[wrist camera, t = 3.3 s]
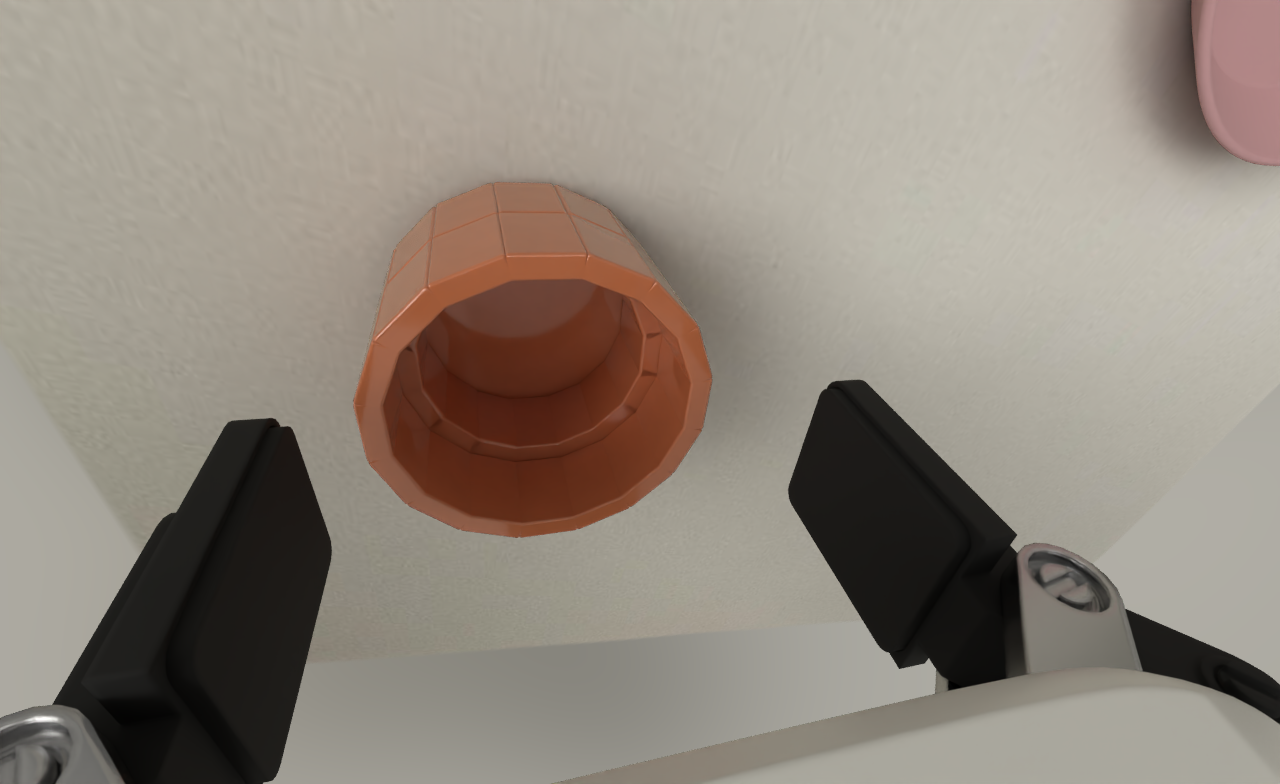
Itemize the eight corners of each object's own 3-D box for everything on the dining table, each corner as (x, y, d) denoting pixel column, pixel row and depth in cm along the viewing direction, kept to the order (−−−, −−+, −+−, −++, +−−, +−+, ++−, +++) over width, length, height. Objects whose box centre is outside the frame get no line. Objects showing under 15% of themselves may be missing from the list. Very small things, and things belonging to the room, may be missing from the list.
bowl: (407, 419, 16) (390, 557, 12) (360, 170, 12) (313, 255, 8) (637, 401, 18) (686, 515, 14) (661, 179, 14) (739, 252, 10)
